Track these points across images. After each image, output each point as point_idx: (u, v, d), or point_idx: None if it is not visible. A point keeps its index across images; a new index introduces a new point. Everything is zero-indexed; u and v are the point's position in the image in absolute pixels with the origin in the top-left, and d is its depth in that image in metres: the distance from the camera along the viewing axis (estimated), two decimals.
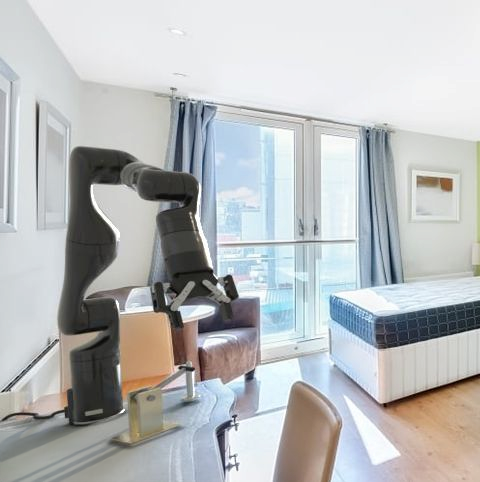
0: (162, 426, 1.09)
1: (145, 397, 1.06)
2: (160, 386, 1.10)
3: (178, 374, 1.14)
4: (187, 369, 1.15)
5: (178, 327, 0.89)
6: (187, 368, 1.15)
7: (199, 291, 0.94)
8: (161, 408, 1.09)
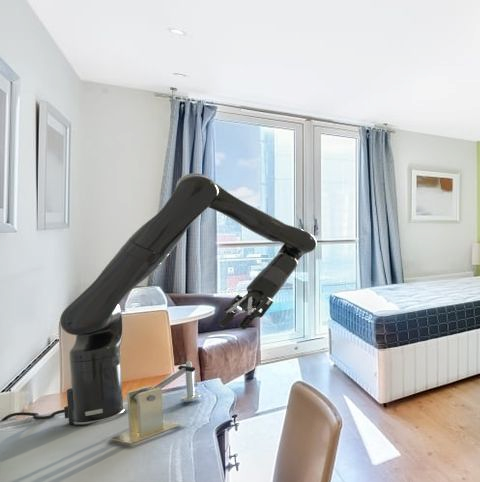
0: (162, 426, 1.09)
1: (145, 397, 1.06)
2: (160, 386, 1.10)
3: (178, 374, 1.14)
4: (187, 369, 1.15)
5: (244, 328, 1.25)
6: (187, 368, 1.15)
7: None
8: (161, 408, 1.09)
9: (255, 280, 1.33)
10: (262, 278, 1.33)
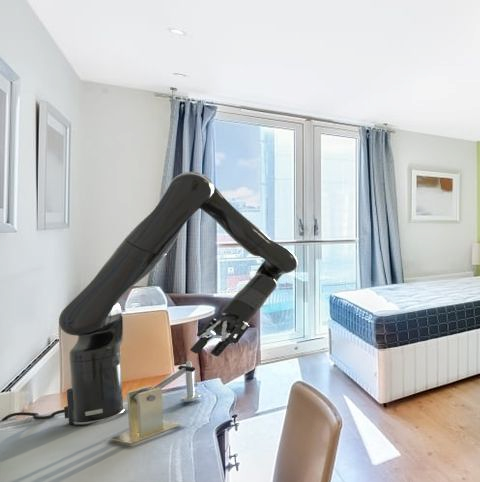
0: (162, 426, 1.09)
1: (145, 397, 1.06)
2: (160, 386, 1.10)
3: (178, 374, 1.14)
4: (187, 369, 1.15)
5: (217, 355, 1.19)
6: (187, 368, 1.15)
7: None
8: (161, 408, 1.09)
9: (230, 303, 1.26)
10: (238, 301, 1.27)
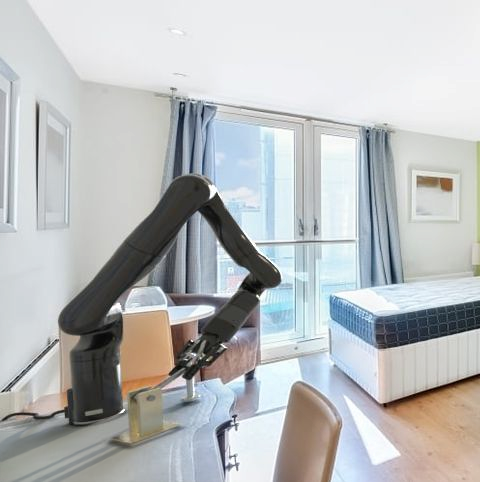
0: (162, 426, 1.09)
1: (145, 397, 1.06)
2: (160, 386, 1.10)
3: (178, 374, 1.14)
4: None
5: (189, 378, 1.14)
6: (187, 368, 1.15)
7: None
8: (161, 408, 1.09)
9: (210, 321, 1.21)
10: (218, 320, 1.22)
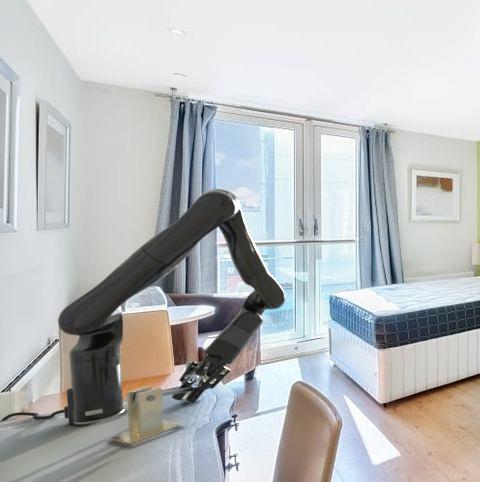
0: (162, 426, 1.09)
1: (145, 397, 1.06)
2: (162, 393, 1.11)
3: (182, 390, 1.15)
4: (192, 388, 1.16)
5: (192, 401, 1.15)
6: (193, 388, 1.16)
7: None
8: (161, 408, 1.09)
9: (213, 343, 1.22)
10: (221, 341, 1.22)
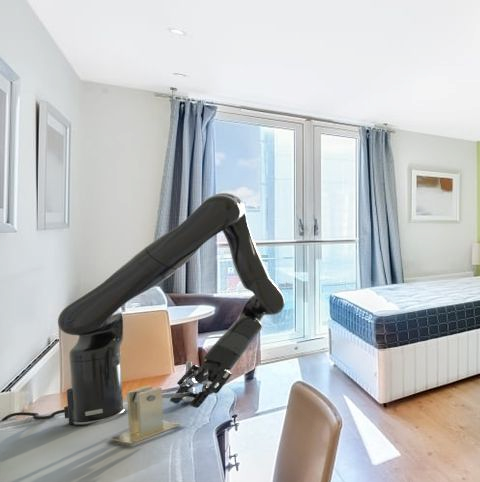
0: (162, 426, 1.09)
1: (145, 397, 1.06)
2: (162, 395, 1.11)
3: (181, 394, 1.15)
4: (191, 394, 1.16)
5: (197, 406, 1.15)
6: (192, 393, 1.16)
7: None
8: (161, 408, 1.09)
9: (212, 349, 1.22)
10: (220, 347, 1.22)
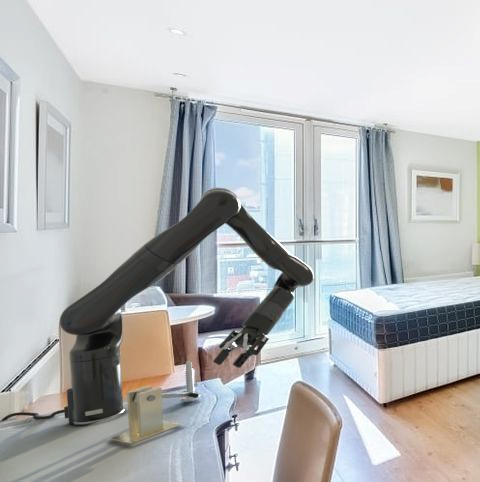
0: (162, 426, 1.09)
1: (145, 397, 1.06)
2: (162, 395, 1.11)
3: (181, 394, 1.15)
4: (191, 394, 1.16)
5: (239, 366, 1.24)
6: (192, 393, 1.16)
7: None
8: (161, 408, 1.09)
9: (251, 316, 1.32)
10: (258, 314, 1.32)
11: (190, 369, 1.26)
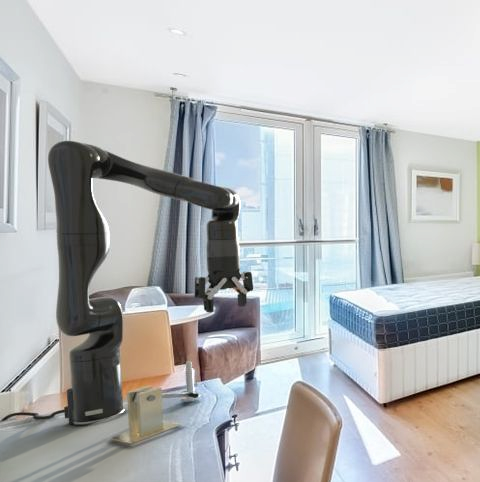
0: (162, 426, 1.09)
1: (145, 397, 1.06)
2: (162, 395, 1.11)
3: (181, 394, 1.15)
4: (191, 394, 1.16)
5: (209, 311, 1.22)
6: (192, 393, 1.16)
7: (228, 284, 1.26)
8: (161, 408, 1.09)
9: None
10: None
11: (190, 369, 1.26)
